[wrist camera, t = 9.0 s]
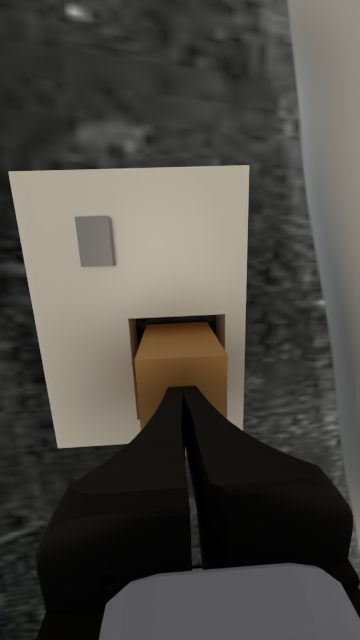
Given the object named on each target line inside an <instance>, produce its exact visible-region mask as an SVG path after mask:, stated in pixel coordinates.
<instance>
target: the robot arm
mask: <svg viewBox="0 0 360 640" xmlns="http://www.w3.org/2000/svg"><path fill="white" fill-rule="evenodd" d="M185 447H186V453H187V458H188V463H189V469H190V474H191V479H192V485H193V490H194V495H195V502H196V509H197V519H198V529H199V539H200V549H201V559H202V568H197V569H192V557H191V530H190V507H189V496H188V485H187V478H186V469H185ZM352 530H353V515H352V512H351V509H350V507H349V505H348V503H347V502H346V500H345V499H344V498H343V496H342V495H341V494H340V492H339V491H338V489H337V488H336V487H335V485H334V484H333V483H332V481H331V480H330V479H329V478H328V477H327V476H326V474H325V473H324V472H323V471H322V470H321V468H320V467H319V466H317V465H314V464H311V463H309V462H306V461H303V460H301V459H298V458H295V457H292V456H290V455H287V454H285V453H283V452H281V451H279V450H277V449H274V448H272V447H270V446H268V445H266V444H264V443H262V442H261V441H259V440H257V439H255V438H254V437H252V436H250V435H249V434H247V433H246V432H244V431H242V430H241V429H240V428H238V427H237V426H236V425H234V424H233V423H231V422H230V421H229V420H228V419H226V418H225V417H224V416H223V415H222V414H221V413H220V412H219V411H218V410H217V409H216V408H215V407H214V406H213V405H212V404H211V403H210V402H209V401H208V400H207V399H206V397H205V396H204V395H203V394H202V393H201V391H200V390H199V389H198V387H197V386H179V387H168V388H167V389H166V392H165V395H164V397H163V399H162V401H161V403H160V404H159V406H158V408H157V409H156V411H155V413H154V414H153V415H152V417H151V418H150V420H149V421H148V422H147V424H146V425H145V426H144V428H143V429H142V430H141V431H140V432H139V433H138V434H137V436H136V437H135V438H134V439H133V440H132V441H131V442H130V443H129V444H127V445H126V446H125V447H124V448H123V449H122V450H121V451H120V452H118V453H117V454H116V455H115V456H113V457H112V458H111V459H109V460H108V461H107V462H105V463H104V464H102V465H101V466H99V467H98V468H96V469H95V470H93V471H92V472H90V473H88V474H87V475H85V476H83V477H82V478H80V479H78V480H77V481H75V482H73V483H71V484H70V485H69V487H68V489H67V491H66V493H65V494H64V496H63V498H62V499H61V501H60V503H59V504H58V506H57V508H56V510H55V512H54V514H53V516H52V518H51V520H50V523H49V525H48V527H47V529H46V531H45V534H44V536H43V538H42V540H41V542H40V545H39V548H38V551H37V554H36V557H35V560H36V572H37V576H38V580H39V584H40V589H41V593H42V597H43V601H44V606H45V610H46V613H45V616H44V619H43V622H42V625H41V628H40V631H39V634H38V636H37V639H36V640H360V590H359V588H358V587H357V586H359V584H360V580H359V577H358V575H357V573H356V571H355V570H354V568H353V567H352V565H351V563H350V562H349V560H348V555H349V549H350V543H351V536H352Z"/></svg>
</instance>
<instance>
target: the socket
mask: <svg viewBox="0 0 360 640" xmlns="http://www.w3.org/2000/svg"><path fill="white" fill-rule="evenodd" d="M8 173H9V179H10V184H11V190H12V195H13V201H14V206H15V212H16V217H17V223H18V229H19V234H20V240H21V245H22V251H23V256H24V262H25V267H26V273H27V279H28V284H29V290H30V295H31V301H32V306H33V312H34V317H35V323H36V329H37V334H38V340H39V345H40V351H41V356H42V362H43V367H44V373H45V379H46V384H47V390H48V395H49V401H50V406H51V412H52V417H53V423H54V429H55V434H56V440H57V445H58V448H69V447H84V446H100V445H115V444H129V443H130V442H131V441H132V440H133V439H134V438H135V437H136V436H137V434H138V433H139V432H140V431H141V428H140V416H139V405H138V393H137V382H136V370H135V357H136V354H137V351H138V340H137V328H136V318H155V317H176V316H197V315H216V337H217V339H218V341H219V342H220V344H221V345H222V347H223V348H224V350H225V352H226V353H227V355H228V369H227V419H228V420H229V421H230V422H231V423H233V424H234V425H236V426H237V427H238V428H240V429H241V430H242V431H243V404H244V362H245V321H246V279H247V237H248V195H249V165H242V166H204V167H166V168H129V169H91V170H53V171H15V172H8Z"/></svg>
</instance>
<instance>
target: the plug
mask: <svg viewBox="0 0 360 640" xmlns="http://www.w3.org/2000/svg"><path fill="white" fill-rule="evenodd" d="M227 369H228V355H227V353H226V352H225V350H224V348H223V347H222V345H221V344H220V342H219V341H218V339H217V337H216V336H215V334H214V333H213V331H212V329H211V328H210V326H209V325H208V323H207V322H193V323H172V324H151V325H146V328H145V331H144V334H143V337H142V340H141V343H140V346H139V349H138V351H137V354H136V357H135V370H136V382H137V393H138V405H139V416H140V428H141V430H142V429H143V428H144V426H145V425H146V424H147V422H148V421H149V420H150V418H151V417H152V415H153V414H154V413H155V411H156V409H157V408H158V406H159V404H160V403H161V401H162V399H163V397H164V395H165V392H166V389H167V388H168V387H179V386H197V387H198V389H199V390H200V391H201V393H202V394H203V395H204V396H205V397H206V399H207V400H208V401H209V402H210V403H211V404H212V405H213V406H214V407H215V408H216V409H217V410H218V411H219V412H220V413H221V414H222V415H223V416H224V417H225V418H226V419H227ZM185 456H187V453H186V447H185Z"/></svg>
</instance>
